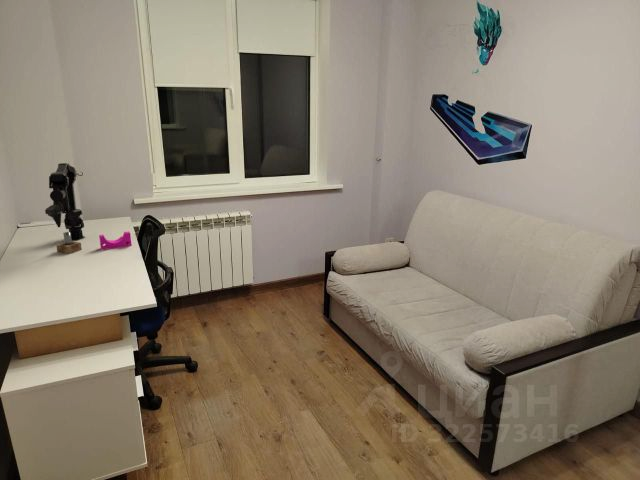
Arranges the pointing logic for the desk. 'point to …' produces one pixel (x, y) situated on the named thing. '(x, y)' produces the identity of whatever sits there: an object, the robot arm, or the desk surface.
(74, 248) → the brown square frame
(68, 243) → the metal canister
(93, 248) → the desk surface
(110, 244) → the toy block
